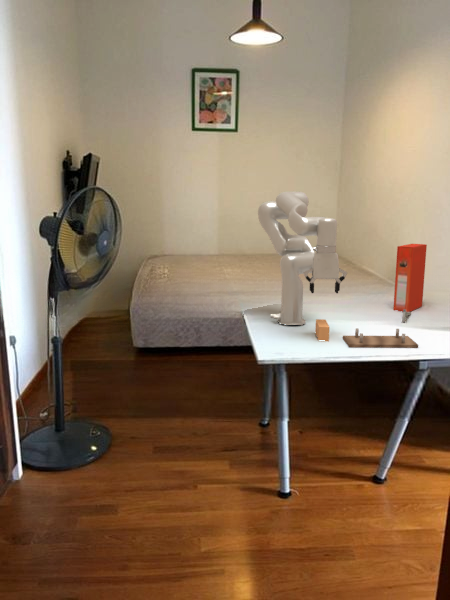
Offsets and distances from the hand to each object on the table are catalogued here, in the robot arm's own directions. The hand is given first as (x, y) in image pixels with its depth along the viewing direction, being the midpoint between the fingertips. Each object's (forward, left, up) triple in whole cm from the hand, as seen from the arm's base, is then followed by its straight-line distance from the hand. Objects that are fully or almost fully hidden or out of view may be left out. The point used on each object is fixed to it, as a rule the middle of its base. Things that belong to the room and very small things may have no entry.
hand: (324, 292), depth 201 cm
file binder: (+52, +52, -19) cm, 76 cm away
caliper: (+45, +32, -19) cm, 58 cm away
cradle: (+21, -8, -18) cm, 29 cm away
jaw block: (0, 0, -19) cm, 19 cm away
